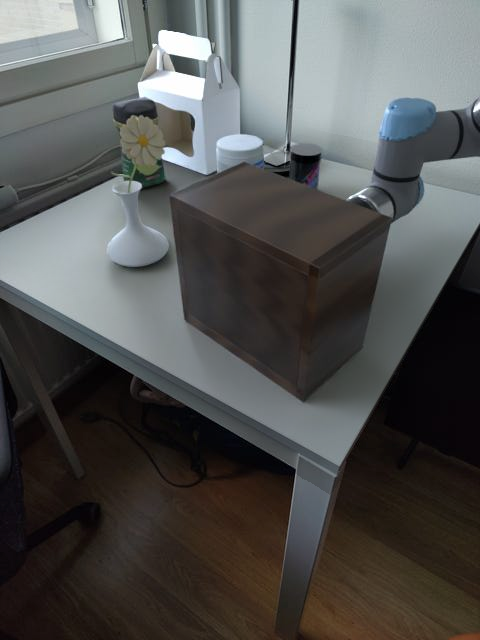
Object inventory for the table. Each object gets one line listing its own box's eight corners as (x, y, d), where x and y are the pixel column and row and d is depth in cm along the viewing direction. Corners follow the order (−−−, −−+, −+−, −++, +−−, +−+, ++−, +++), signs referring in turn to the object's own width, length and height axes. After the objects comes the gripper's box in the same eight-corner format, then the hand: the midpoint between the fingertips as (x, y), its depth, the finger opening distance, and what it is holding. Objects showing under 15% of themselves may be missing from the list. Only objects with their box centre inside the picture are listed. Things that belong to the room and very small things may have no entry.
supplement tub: (264, 220, 97) (266, 150, 87) (219, 222, 96) (216, 152, 87) (261, 199, 104) (262, 132, 94) (219, 200, 104) (215, 133, 94)
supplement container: (289, 202, 103) (292, 155, 96) (286, 188, 108) (288, 143, 101) (319, 201, 103) (324, 155, 96) (315, 187, 108) (319, 143, 101)
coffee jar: (135, 193, 107) (120, 109, 94) (119, 181, 111) (104, 100, 99) (171, 181, 111) (161, 99, 99) (154, 171, 116) (143, 91, 104)
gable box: (241, 159, 121) (240, 35, 102) (207, 175, 113) (199, 45, 95) (181, 139, 132) (170, 24, 113) (146, 154, 124) (128, 33, 106)
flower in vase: (117, 279, 82) (84, 136, 65) (102, 247, 89) (69, 113, 73) (186, 261, 86) (171, 122, 69) (167, 232, 94) (149, 101, 77)
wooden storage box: (362, 348, 68) (392, 217, 54) (303, 402, 61) (320, 268, 46) (244, 281, 81) (244, 161, 67) (184, 320, 73) (168, 194, 59)
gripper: (406, 260, 72) (316, 334, 60) (310, 219, 82) (216, 275, 70) (418, 218, 67) (322, 288, 55) (314, 179, 77) (213, 232, 65)
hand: (263, 281), depth 63 cm, fingers closed on deodorant, 6 cm apart
